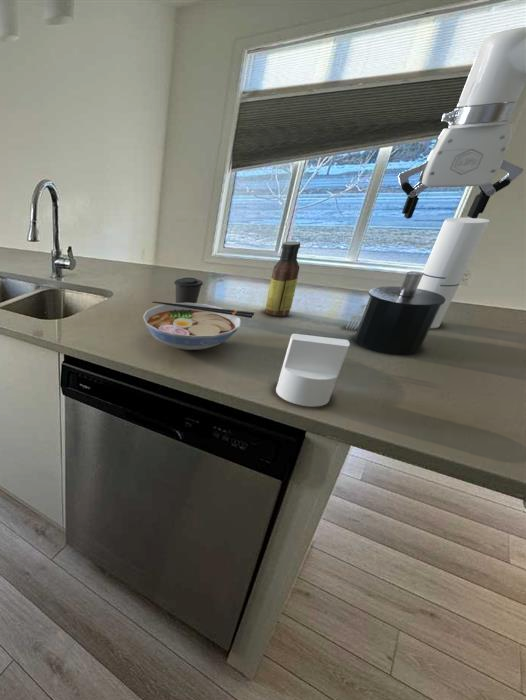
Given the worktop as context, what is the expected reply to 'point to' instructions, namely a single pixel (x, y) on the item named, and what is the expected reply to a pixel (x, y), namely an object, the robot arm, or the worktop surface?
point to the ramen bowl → (192, 324)
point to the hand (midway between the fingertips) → (438, 217)
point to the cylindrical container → (451, 259)
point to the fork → (355, 319)
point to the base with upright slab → (311, 369)
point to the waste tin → (394, 327)
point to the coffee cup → (187, 290)
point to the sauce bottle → (283, 281)
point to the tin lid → (408, 293)
